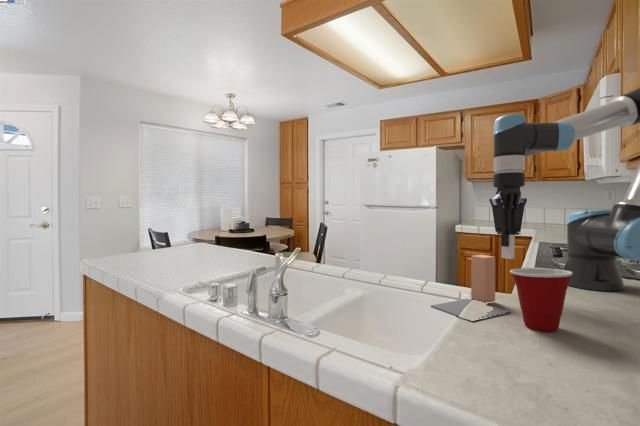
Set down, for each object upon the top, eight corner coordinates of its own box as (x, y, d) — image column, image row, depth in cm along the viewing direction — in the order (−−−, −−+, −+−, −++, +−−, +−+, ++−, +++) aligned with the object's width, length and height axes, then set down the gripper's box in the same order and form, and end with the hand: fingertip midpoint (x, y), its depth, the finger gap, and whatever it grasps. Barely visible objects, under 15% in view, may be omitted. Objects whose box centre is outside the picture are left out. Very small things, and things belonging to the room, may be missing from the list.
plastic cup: (530, 315, 75) (530, 263, 75) (584, 331, 65) (584, 271, 65) (497, 322, 71) (497, 267, 70) (550, 341, 61) (550, 276, 60)
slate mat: (466, 300, 87) (466, 298, 87) (510, 313, 77) (510, 311, 77) (430, 307, 82) (430, 305, 82) (471, 322, 71) (472, 320, 71)
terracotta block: (481, 298, 88) (481, 254, 88) (495, 302, 85) (495, 256, 85) (471, 300, 87) (471, 255, 86) (484, 304, 83) (484, 257, 83)
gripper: (510, 174, 96) (509, 254, 96) (480, 172, 90) (479, 257, 91) (537, 172, 89) (536, 258, 90) (506, 170, 83) (505, 262, 84)
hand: (507, 258), depth 90 cm, fingers closed
